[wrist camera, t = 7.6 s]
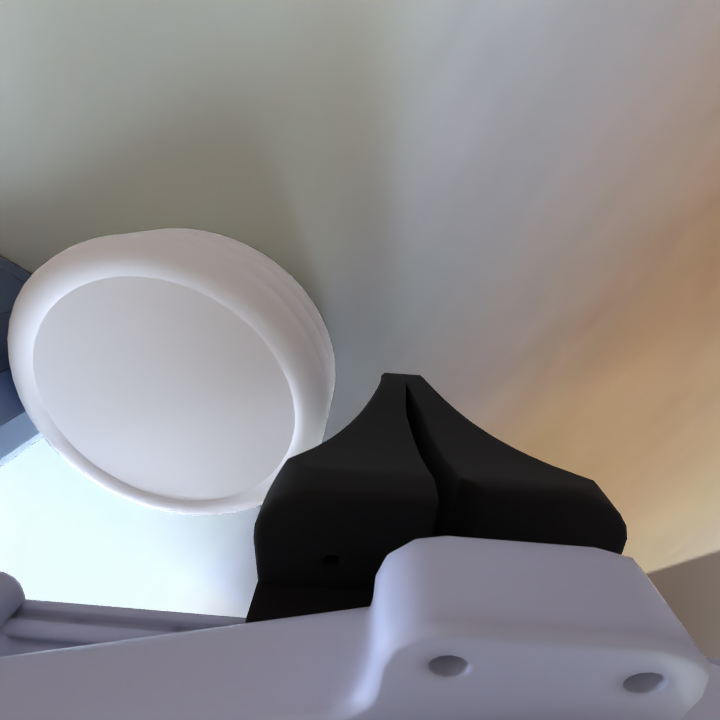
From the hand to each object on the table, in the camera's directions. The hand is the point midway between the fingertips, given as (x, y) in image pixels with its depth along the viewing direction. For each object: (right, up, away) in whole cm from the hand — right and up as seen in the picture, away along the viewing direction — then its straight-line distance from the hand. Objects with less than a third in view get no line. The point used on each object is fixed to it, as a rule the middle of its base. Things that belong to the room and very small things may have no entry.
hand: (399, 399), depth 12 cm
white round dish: (-7, +1, +2) cm, 8 cm away
